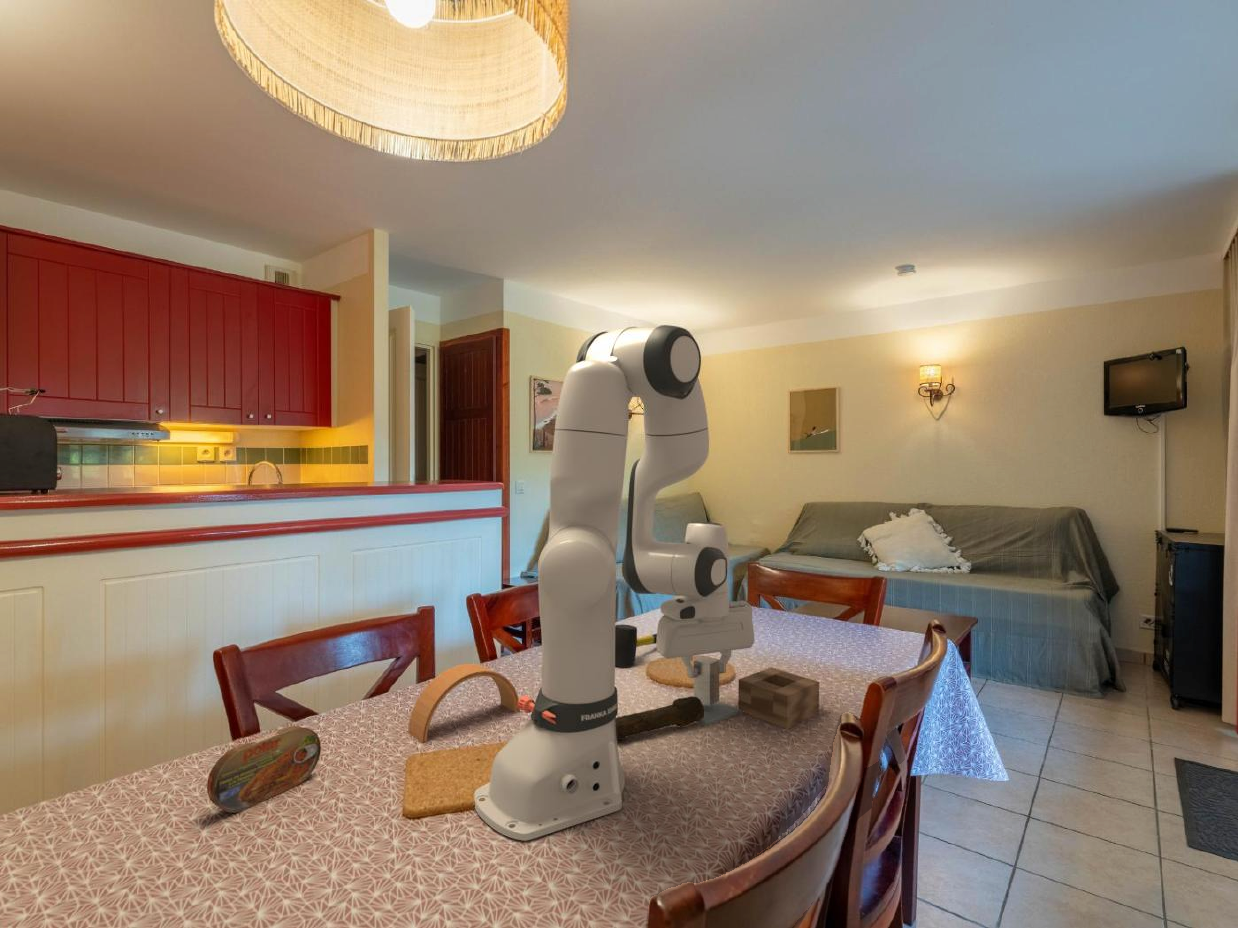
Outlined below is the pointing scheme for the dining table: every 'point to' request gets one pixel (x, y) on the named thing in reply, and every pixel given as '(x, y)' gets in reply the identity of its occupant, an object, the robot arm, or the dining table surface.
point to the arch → (445, 684)
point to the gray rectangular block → (707, 680)
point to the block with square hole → (778, 697)
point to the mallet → (629, 644)
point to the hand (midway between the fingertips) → (706, 674)
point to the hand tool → (660, 717)
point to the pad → (717, 713)
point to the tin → (263, 768)
